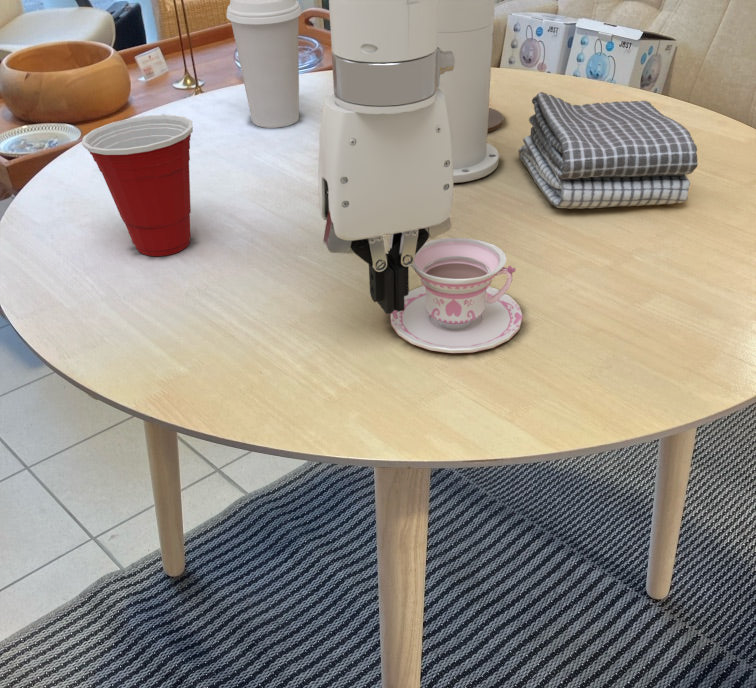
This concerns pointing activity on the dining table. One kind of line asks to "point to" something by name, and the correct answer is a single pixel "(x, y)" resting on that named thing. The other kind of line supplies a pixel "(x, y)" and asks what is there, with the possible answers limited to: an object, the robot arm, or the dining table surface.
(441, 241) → the teacup
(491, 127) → the coaster
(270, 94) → the coffee cup
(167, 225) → the plastic cup
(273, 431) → the dining table surface
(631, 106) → the towel
